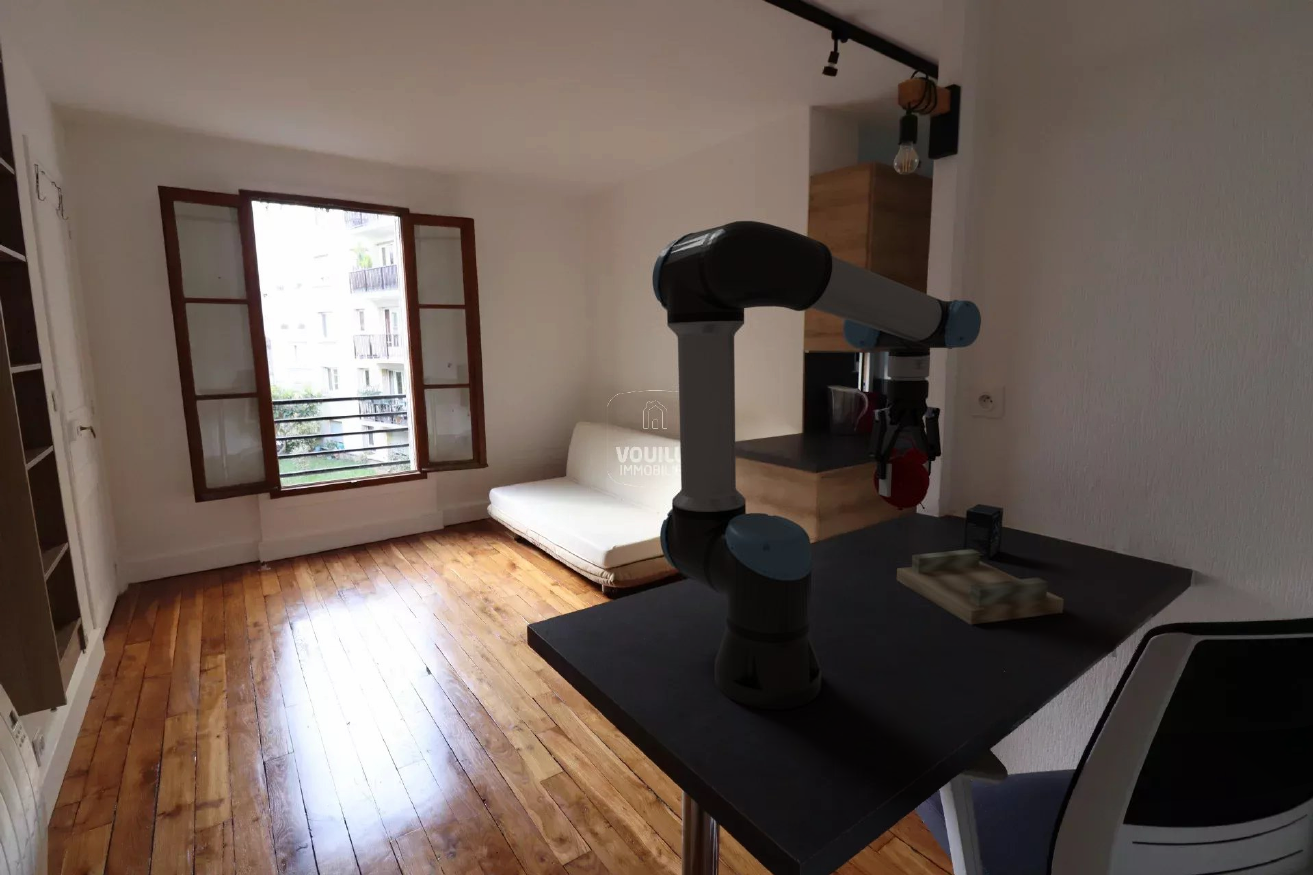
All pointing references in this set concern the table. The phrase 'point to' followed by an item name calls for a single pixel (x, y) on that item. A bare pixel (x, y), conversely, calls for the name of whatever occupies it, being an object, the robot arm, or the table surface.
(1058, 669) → the table surface
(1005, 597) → the display stand
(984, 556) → the box
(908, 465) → the alarm clock
